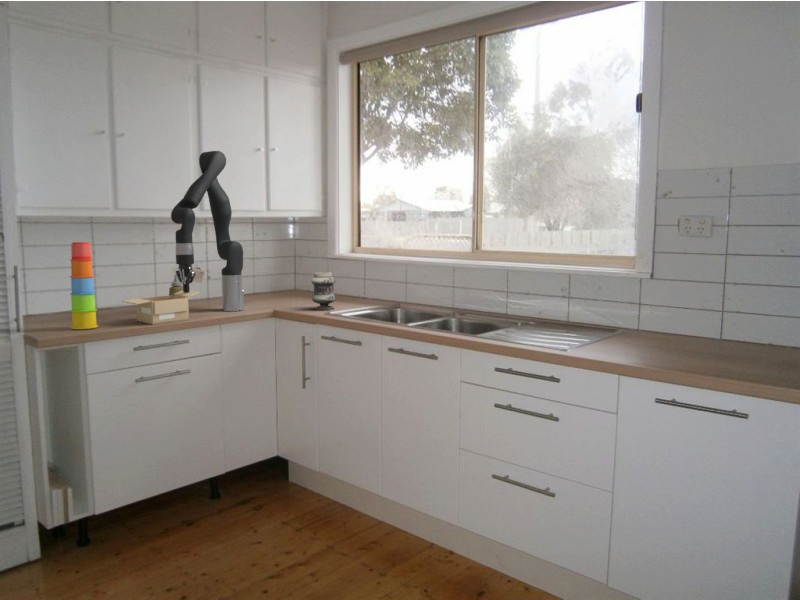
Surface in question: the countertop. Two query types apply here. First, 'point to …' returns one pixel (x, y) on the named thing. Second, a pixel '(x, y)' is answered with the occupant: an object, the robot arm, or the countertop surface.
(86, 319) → the stacking cups
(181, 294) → the flap
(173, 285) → the squeeze bottle
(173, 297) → the carton
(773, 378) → the countertop surface
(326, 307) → the apothecary jar
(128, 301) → the flap
